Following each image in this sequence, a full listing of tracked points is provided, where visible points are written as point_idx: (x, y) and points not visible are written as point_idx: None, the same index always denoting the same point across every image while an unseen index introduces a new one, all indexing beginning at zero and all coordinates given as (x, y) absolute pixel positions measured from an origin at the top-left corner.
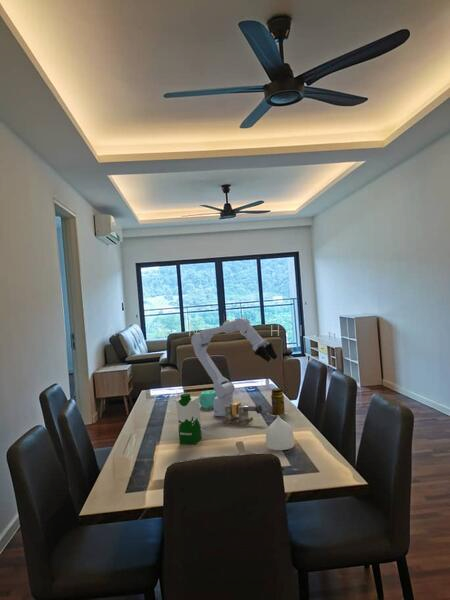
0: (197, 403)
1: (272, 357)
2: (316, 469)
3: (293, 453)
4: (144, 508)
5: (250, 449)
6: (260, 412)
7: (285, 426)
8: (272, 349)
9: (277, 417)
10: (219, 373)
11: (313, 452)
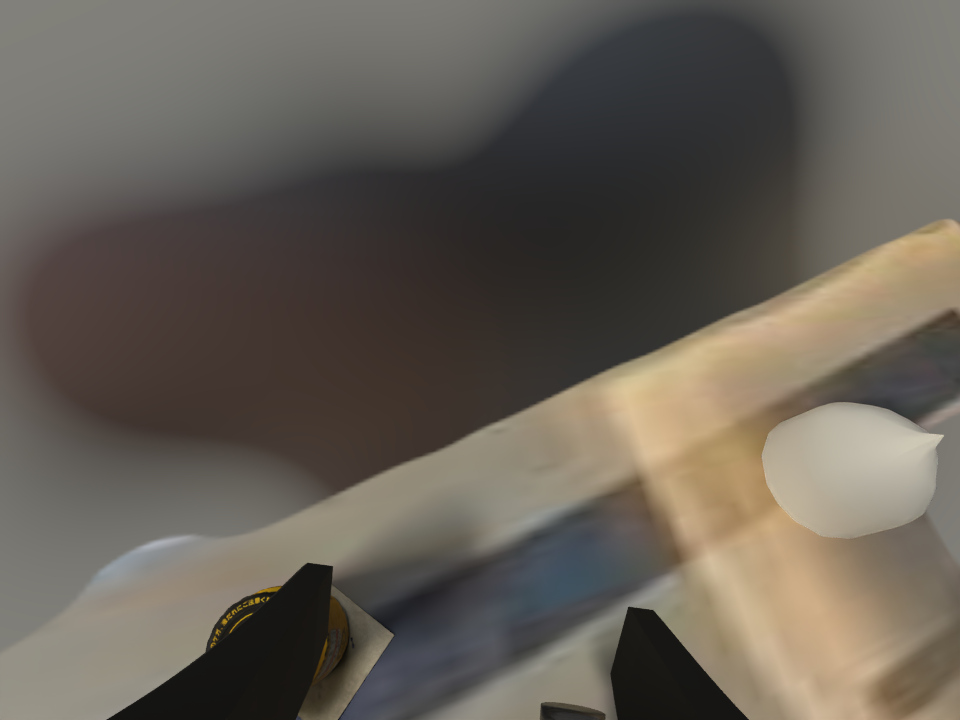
0: None
1: (307, 680)
2: (945, 317)
3: (872, 404)
4: None
5: (934, 596)
6: (561, 703)
7: (897, 414)
8: (240, 700)
9: (937, 442)
10: None
11: (827, 341)
